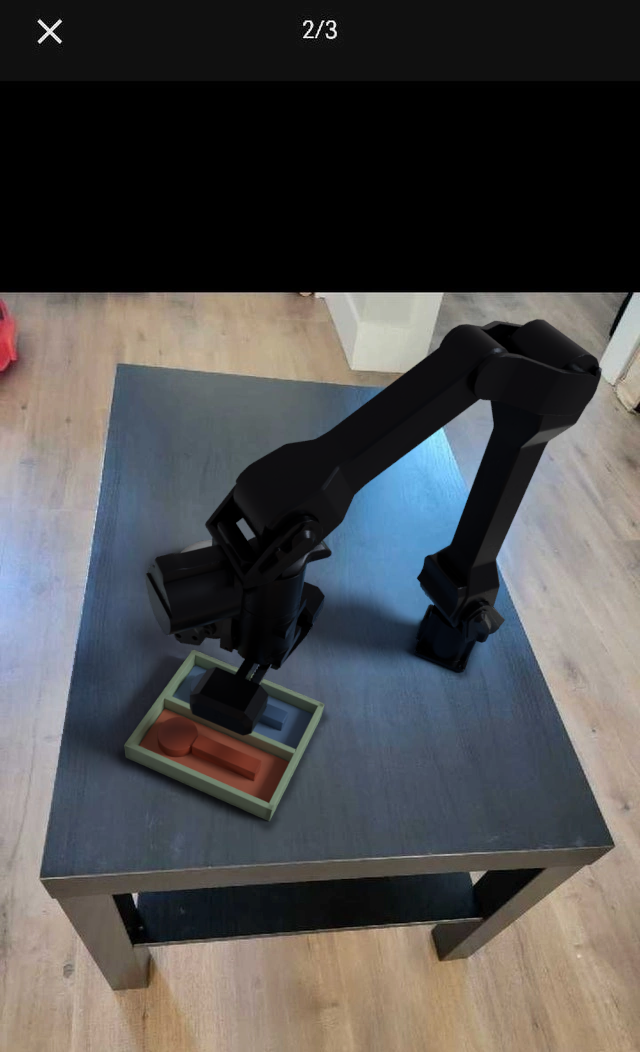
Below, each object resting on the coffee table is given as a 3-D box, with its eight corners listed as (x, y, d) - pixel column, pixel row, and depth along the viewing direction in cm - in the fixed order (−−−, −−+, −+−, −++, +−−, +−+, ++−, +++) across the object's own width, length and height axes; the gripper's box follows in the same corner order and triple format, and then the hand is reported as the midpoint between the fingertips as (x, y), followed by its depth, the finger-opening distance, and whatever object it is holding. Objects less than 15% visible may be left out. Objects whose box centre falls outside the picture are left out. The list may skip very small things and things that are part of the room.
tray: (321, 716, 76) (324, 703, 74) (269, 821, 67) (272, 810, 65) (192, 662, 78) (192, 648, 76) (125, 757, 69) (123, 744, 67)
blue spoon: (291, 712, 75) (293, 703, 73) (276, 740, 72) (278, 731, 71) (201, 674, 76) (201, 665, 75) (183, 700, 74) (183, 691, 72)
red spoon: (265, 759, 70) (266, 751, 69) (248, 791, 68) (249, 783, 67) (170, 718, 72) (170, 710, 71) (150, 748, 69) (149, 739, 68)
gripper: (233, 507, 68) (226, 613, 80) (132, 630, 56) (141, 735, 68) (337, 546, 66) (314, 649, 78) (255, 682, 54) (243, 779, 66)
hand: (255, 697), depth 73 cm, fingers open, 9 cm apart
